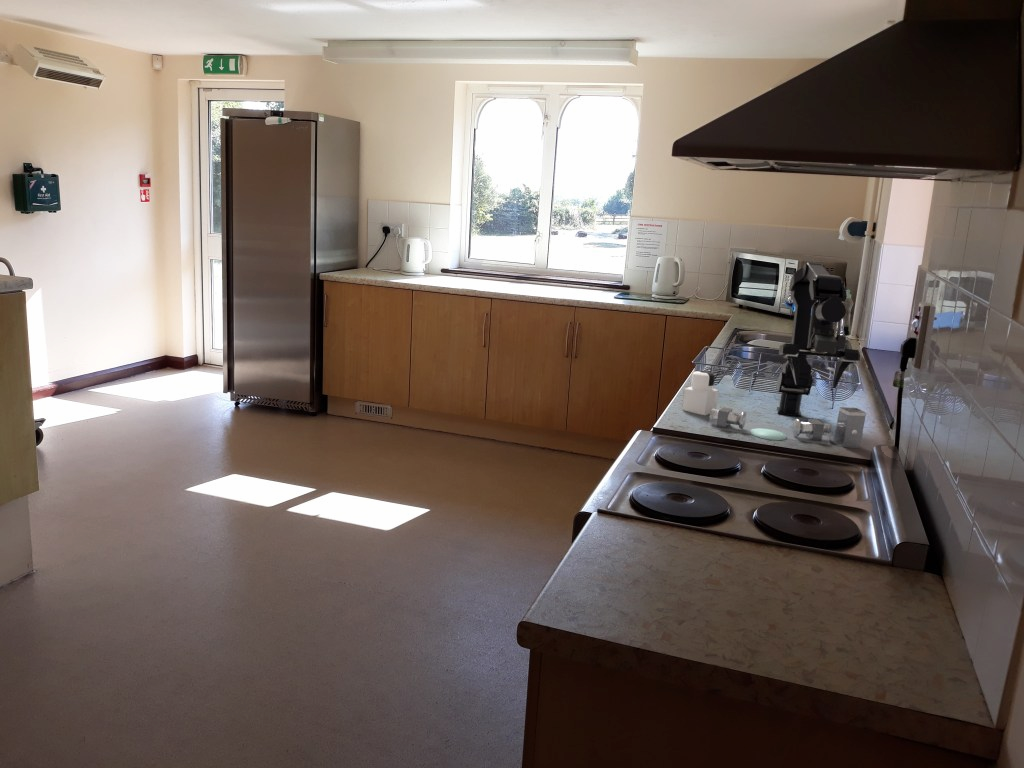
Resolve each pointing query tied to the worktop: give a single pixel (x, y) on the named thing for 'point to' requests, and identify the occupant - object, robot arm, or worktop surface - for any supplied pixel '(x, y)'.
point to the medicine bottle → (700, 394)
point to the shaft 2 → (811, 429)
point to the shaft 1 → (727, 418)
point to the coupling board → (768, 432)
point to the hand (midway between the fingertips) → (815, 386)
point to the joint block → (849, 427)
